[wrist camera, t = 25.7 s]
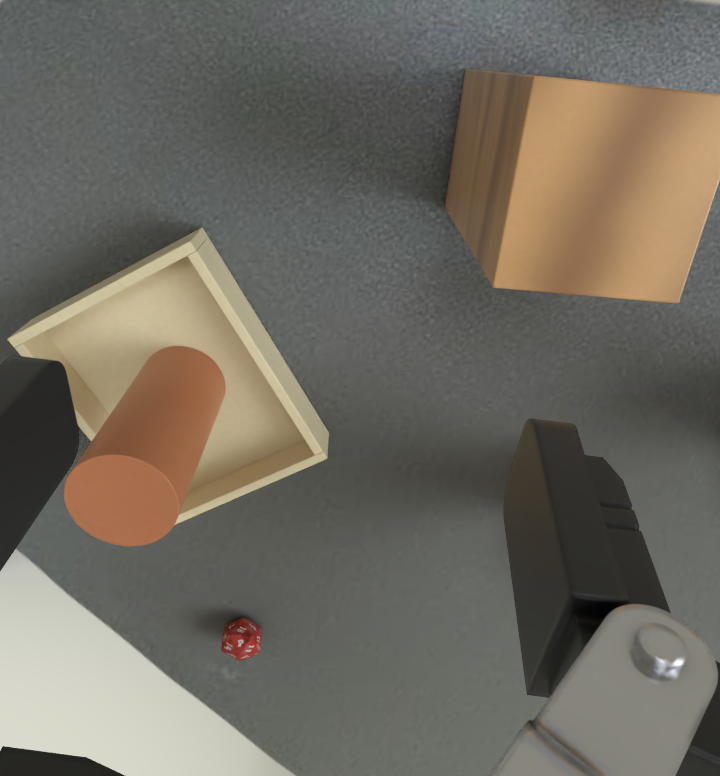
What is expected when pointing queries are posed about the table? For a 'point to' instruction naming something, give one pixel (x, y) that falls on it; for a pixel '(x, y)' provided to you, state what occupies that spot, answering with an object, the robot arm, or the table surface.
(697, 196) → the oak stand
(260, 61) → the table surface
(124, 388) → the tray
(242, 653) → the die
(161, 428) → the terracotta-colored cylinder
